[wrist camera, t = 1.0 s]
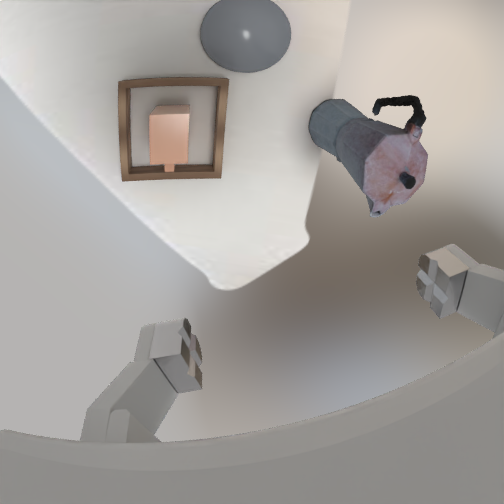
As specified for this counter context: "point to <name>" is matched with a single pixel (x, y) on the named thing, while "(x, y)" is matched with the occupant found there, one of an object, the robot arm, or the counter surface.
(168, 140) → the terracotta clay block
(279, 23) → the slate coaster
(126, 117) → the frame
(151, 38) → the counter surface
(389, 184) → the moka pot
